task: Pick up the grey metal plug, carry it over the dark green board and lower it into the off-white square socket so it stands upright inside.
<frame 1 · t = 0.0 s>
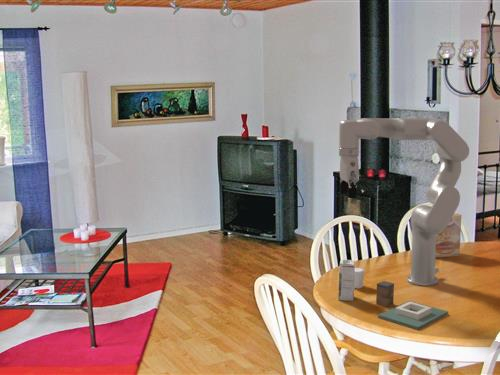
hand: (348, 195, 262), 37 cm above the table, tool pointing down, fingers open, 9 cm apart
syrup box: (346, 298, 256), on the table
grey metal plug: (384, 304, 249), on the table
shot glass: (355, 286, 269), on the table
socket board: (413, 315, 237), on the table
coffeecake box: (441, 255, 312), on the table
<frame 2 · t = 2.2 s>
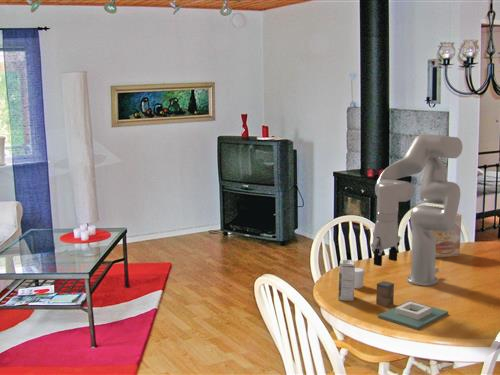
hand: (385, 262, 246), 16 cm above the table, tool pointing down, fingers open, 9 cm apart
nothing on the table moved.
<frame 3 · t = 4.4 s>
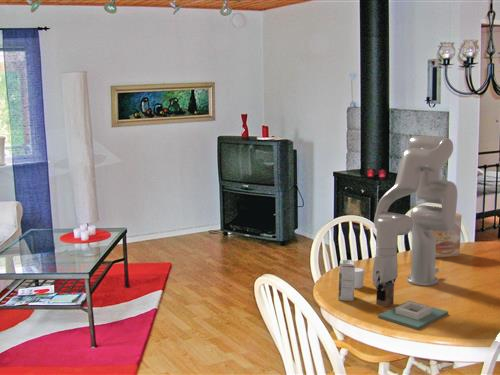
hand: (385, 297, 249), 2 cm above the table, tool pointing down, fingers closed on grey metal plug, 4 cm apart
grey metal plug: (384, 304, 249), on the table, touching gripper
everything else where it was.
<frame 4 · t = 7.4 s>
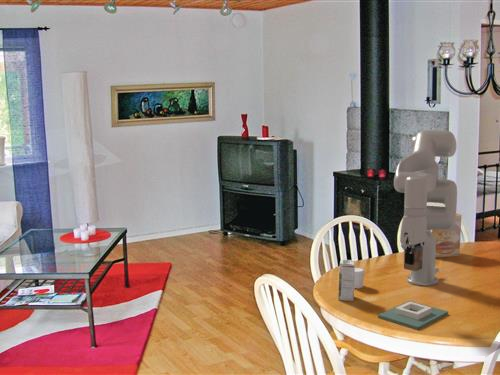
hand: (413, 262, 234), 20 cm above the table, tool pointing down, fingers closed on grey metal plug, 4 cm apart
grey metal plug: (412, 268, 235), point 17 cm above the table, touching gripper
everything else where it was.
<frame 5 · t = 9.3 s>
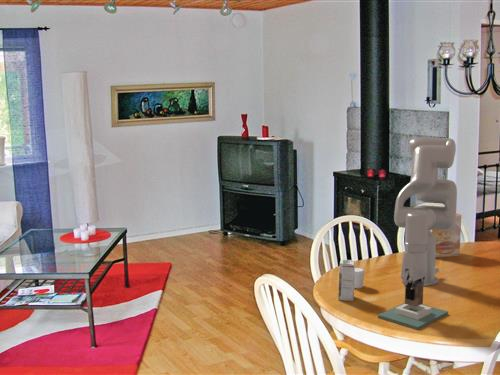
hand: (413, 297, 236), 7 cm above the table, tool pointing down, fingers closed on grey metal plug, 4 cm apart
grey metal plug: (413, 303, 236), point 5 cm above the table, touching gripper
everything else where it was.
when the fingers open (4 cm above the table, at t = 10.5 s): grey metal plug stays where it is, resting on socket board.
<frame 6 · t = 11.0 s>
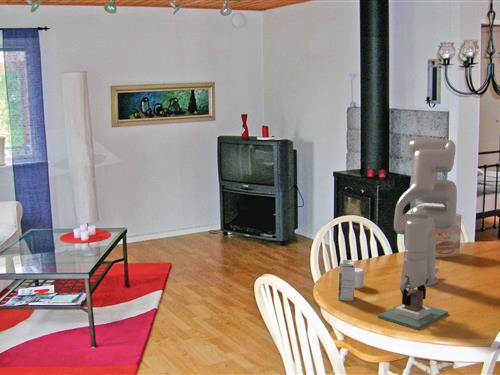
hand: (413, 301, 236), 5 cm above the table, tool pointing down, fingers open, 9 cm apart
grey metal plug: (413, 313, 237), point 1 cm above the table, touching socket board
everything else where it was.
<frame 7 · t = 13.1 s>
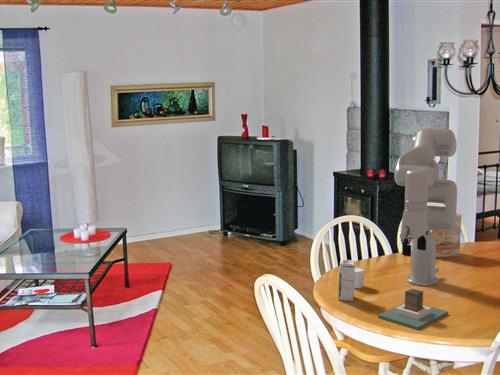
hand: (414, 252, 235), 23 cm above the table, tool pointing down, fingers open, 9 cm apart
nothing on the table moved.
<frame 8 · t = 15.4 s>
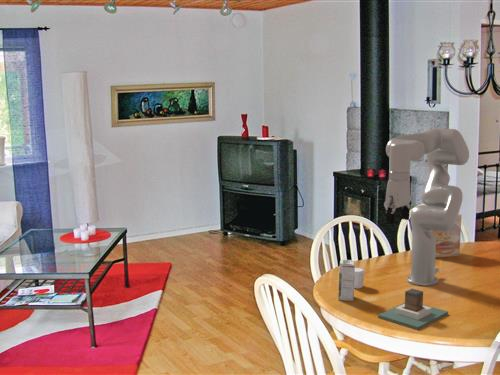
hand: (397, 221, 249), 30 cm above the table, tool pointing down, fingers open, 9 cm apart
nothing on the table moved.
at the end: grey metal plug 0.0 cm off-centre on the socket board, point 1.0 cm above the socket board's base; grey metal plug tilted 0°; the gripper is holding nothing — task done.
